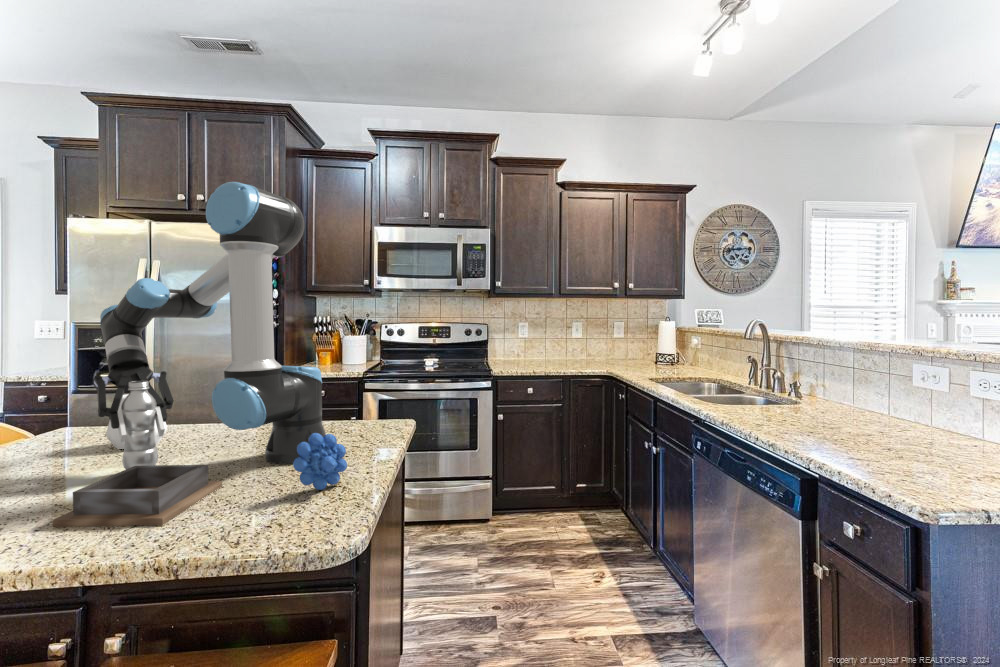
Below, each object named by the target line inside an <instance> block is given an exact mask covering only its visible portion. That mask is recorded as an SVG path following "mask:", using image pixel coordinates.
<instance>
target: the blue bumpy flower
mask: <svg viewBox="0 0 1000 667" xmlns="http://www.w3.org/2000/svg"><path fill="white" fill-rule="evenodd" d="M337 440H338V439H337V437H336V435H334V434H332V433H326V435H325V436H324V437H322V435H320V434H319V433H313V434H311V435H310V437H309V443H308V442H301V443H300V444H299V445H298V446H297V452H298V454H299V455H300V456H301V457H298V458H296V459H295V460H294V462H293V463H292V467H293V469H294V470H295V471H296V472H298V473H300V474H299V480H300V482H301V485H304V486H310V485H312V486H313V487H314V489H316V490H317V491H323V490H325V489H326V487H327V486H328V484H329V485H330V486H331V485H333V486H334V485H337V484H338V483H339V482H340V480H341V475H340V473H343V472H345V471H347V468H348V462H347V460H346V459H345V458H344V457H345V456H346V454H347V449H346V447H345V445H343V444H341V443H338V441H337Z"/></svg>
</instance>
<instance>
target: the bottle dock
mask: <svg viewBox="0 0 1000 667" xmlns="http://www.w3.org/2000/svg"><path fill="white" fill-rule="evenodd" d="M220 487H221V488H223V480H209V464H172V465H171V464H170V465H169V464H166V465H165V464H163V465H162V464H161V465H158V464H156V465H145V466H133V467H131V468H129V469H124V470H122V471H119V472H117V473H115V474H113V475H110V476H107V477H105V478H103V479H100V480H98V481H96V482H93V483H91V484H89V485H86V486H83V487H82V488H79V489H76V490H74V491H72V510H71V511H69V512H67V513H64V514H62V515H60V516H58V517H56V518H54V519H52V527H53V528H55V527H57V528H58V527H59V528H63V527H67V528H68V527H69V526H72V527H117V526H118V527H123V526H124V527H125V526H130V525H139V526H163V524H164V525H165V524H166V522H167V523H168V522H170V521H172V520H173V519H175V518H176V517H177V515H178V516H179V515H181V514H182V513H184V512H185V511H187V510H188V509H187V508H189V507H190V506H192V505H193V504H195V503H196V502H198V501H199V500H201V499H202V498H204V497H206V496H207V495H208V494H210V493H212V492H213V491H215V490H216V491H218V490H219V489H221V488H220ZM218 488H219V489H218ZM217 489H218V490H217ZM216 491H215V492H216ZM213 493H214V492H213ZM213 493H212V494H213ZM210 495H211V494H210ZM207 497H208V496H207ZM207 497H206V498H207ZM204 499H205V498H204ZM202 500H203V499H202ZM202 500H201V501H202ZM199 502H200V501H199ZM199 502H198V503H199ZM196 504H197V503H196ZM196 504H195V505H196ZM193 506H194V505H193ZM193 506H192V507H193ZM190 508H191V507H190ZM190 508H189V509H190ZM186 509H187V510H186ZM183 511H184V512H183ZM180 513H181V514H180ZM175 516H176V517H175ZM174 517H175V518H174ZM172 518H173V519H172ZM169 520H170V521H169Z"/></svg>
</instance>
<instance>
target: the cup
mask: <svg viewBox="0 0 1000 667" xmlns="http://www.w3.org/2000/svg"><path fill="white" fill-rule="evenodd" d="M128 395H129V393H128V394H123V397H122V400H121V403H120V406H119V409H118V411H122V409H121V406H122V403H123V401H124V400H125V398H126V397H127V396H128ZM166 422H167V421H166ZM166 422H163V423H164V427H165V431H164V435H166V432H167V430H168V425H167V423H166ZM154 434H155V442H156V445H158V444H159V443H160V442H161V440H162V439H163V437H164V435H163V436H160V437H159V434H158V429H157V425H156V420H155V426H154ZM105 435H106V439H108V441H109V442H110V443H111V444H112V446H114V448H115V449H116V448H117V449H116V450H119V449H124V448H125V442H122V443H121V442H120V436H119V430H118V428H116V429H113V428H112V427H111V421H110V420H109V422H108V425H107V429H106V434H105ZM157 443H158V444H157Z"/></svg>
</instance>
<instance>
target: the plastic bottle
mask: <svg viewBox="0 0 1000 667" xmlns="http://www.w3.org/2000/svg"><path fill="white" fill-rule="evenodd" d="M149 382H150V381H149ZM149 382H148V381H133V382H129V383H128V385H129V388H128V390H127V392H128V391H129V393H128V394H129V395H128V396H127V397H126V398H125V400H124V401H123V403H122V406H121V409H122V413H123V419H124V424H125V430H126V440H125V448H124V450H123V454H122V459H121V460H122V466H123V468H124V470H126V469H129V468H131V467H133V466H145V465H157V463H158V461H159V460H158V459H159V451H158V448H157V444H156V442H155V434H154V426H155V414H156V407H157V403H156V400H155V399H154V397H153V396H152V395H151V394H150V393H149V392H148V389H149Z"/></svg>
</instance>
